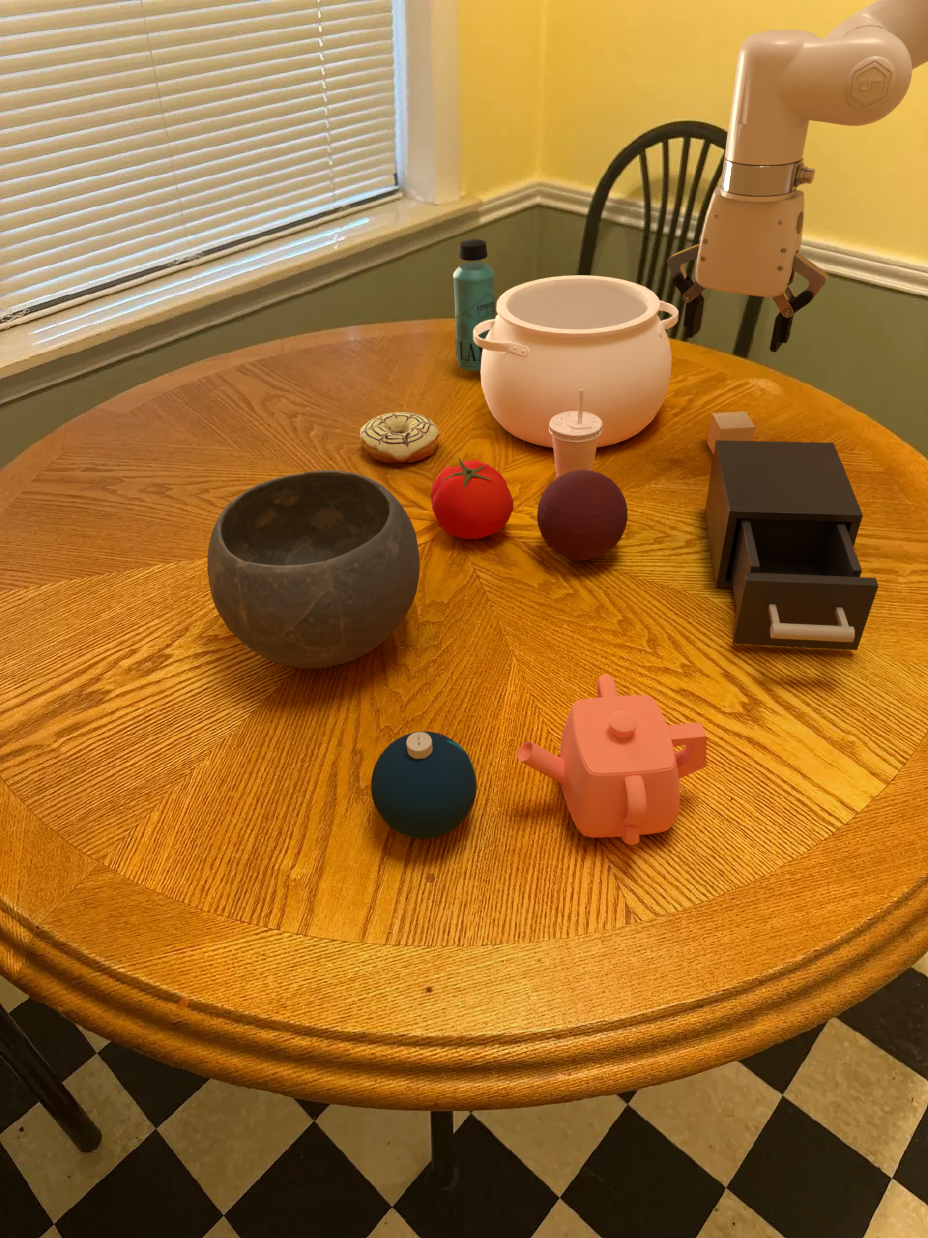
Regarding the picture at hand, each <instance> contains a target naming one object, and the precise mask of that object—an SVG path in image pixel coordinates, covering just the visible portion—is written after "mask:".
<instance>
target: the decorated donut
mask: <svg viewBox="0 0 928 1238" xmlns="http://www.w3.org/2000/svg"><path fill="white" fill-rule="evenodd" d="M440 435H441V433H440V430H439V429H438V426H437V424H435V422H434V421H432V420H431V418H428V417H426V416H424V415H422V414H419V413H415V412H410V411H396V412H395V411H394V412H387V413H383V414H380V415H378V416H375V417H373V418H372V419H370V420H369V421H367V422H366V423H365V424H364V425H362V426H361V428H360V429H359V442H360V444H361V445H362V448H363V449H364V450H365V451H366V453H367V454H368V455H369V456H370V457H371V458H373V459H375V460H376V461H380V462H382V463H391V464H395V463H398V464H399V463H401V464H403V463H407V464H412V463H414V462H418V461H420V460H423V459H425V458H427V457H431V456H432V455H433V454H435V451H436V449H437V447H438V444H439V437H440Z"/></svg>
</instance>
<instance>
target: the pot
mask: <svg viewBox="0 0 928 1238" xmlns="http://www.w3.org/2000/svg"><path fill="white" fill-rule="evenodd" d="M659 311H660V312H666V313H667V314H670V315H671V317H669V318H665V319H662V320H661V319H660V316H659ZM495 312H496V313H497V314H496V315H495V319H492V320H486V321H484V322H481V323H480V324H478V325H477V326H476V327H475V328H474V330H473V340H474V342H475V343H476V345H478V346H479V347H482V348H483V351H482V360H481V371H480V384H481V385H480V386H481V389H482V392H483V396H484V399H485V401H486V404H487V407H488V409H489V411H490V413H491V414H492V416H493V418H494V419H495V420H496V421H497V422H498V424H499V425H500V426H501V427H502V428H503V429H504V430H505V431H506V432H508V433H509V434H511V435H512V436H514V437H515V438H518V439H520V440H522V441H524V442H527V443H530V444H534V445H537V446H541V447H546V448H552V449H553V440H552V435H551V434H550V432H549V427H550V420H551V419H552V418H553V417H554V416H556V415H558V414H560V413H563V412H568V411H578V396H579V389H584V391H583V412H588V413H592V414H594V415H596V416H598V417H599V418H600V419H601V420H602V433H601V435H600V436H599V437H598V443H597V448H603V447H607V446H612V445H615V444H619V443H620V442H623V441H627V440H628V439H630V438H632V437H634V436H636V435H638V434H639V433H640V432H641V431H642V430H644V429H645V428H646V427H647V426H649V424H650V423H651V422H652V421H654V419H655V417H656V415H657V414H658V412H659V411H660V409H661V407H662V406H663V404H664V402H665V399H666V398H667V395H668V392H669V388H670V381H671V375H672V363H673V362H672V359H673V358H672V350H671V344H670V339H669V337H668V333H667V331H666V330H668V329H670V328H672V327H674V326H675V325H676V324H677V323H678V322H679V314H680V313H679V310H678V308H677V307H676V306H674V305H673V304H671V303H669V302H666V301H664V300H660V298H659V297H658V296H657V294H656V293H655V292H654V291H652V290H651V289H649V288H648V287H645V286H644V285H641V284H639V283H636V282H634V281H629V280H625V279H621V278H617V277H612V276H611V277H610V276H601V275H600V276H599V275H582V274H581V275H561V276H559V275H558V276H551V277H545V278H538V279H534V280H531V281H530V280H529V281H527V282H523V283H521V284H518V285H515V286H513V287H511V288H509V289H508V290H506V291H504V292H503V293H502V294H501V295H500V296H499V297H498V298H497V300H496V306H495ZM489 329H490V331H489V333H488V335H487V336H486V338H485V339H482V338H480V337H479V336H478V335H479V334H481V333H482V332H484V331H486V330H489Z"/></svg>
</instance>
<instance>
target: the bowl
mask: <svg viewBox="0 0 928 1238" xmlns="http://www.w3.org/2000/svg"><path fill="white" fill-rule="evenodd" d="M418 544H419V543H418V539H417V534H416V531H415V528H414V525H413V523H412V520H411V519H410V516H409V514H408V512H407V511H406V509H405V507H404V506H403V504H402V503H401V502H400V501H399V499H397V498H396V497H395V495H394V494H393V493H392V492H391V491H390V490H389V489H387V487H385V486H384V485H383V484H381V483H380V482H378V481H376V480H374V479H372V478H371V477H367V476H364V475H362V474H359V473H355V472H352V471H344V470H339V469H319V470H318V469H317V470H310V471H304V472H300V473H293V474H288V475H284V476H279V477H275V478H271V479H268V480H266V481H263V482H261V483H258V484H256V485H254V486H252V487H250V488H248V489H246V490H245V491H242V492H241V493H240V494H238V495H237V496H236V497H235V498H233V499H232V500H230V502H229V503H228V504H226V506H225V507H224V508H223V510H222V511H221V513H220V514H219V516H218V518H217V520H216V521H215V524H214V527H213V529H212V531H211V535H210V539H209V544H208V547H207V548H208V549H207V562H206V565H207V578H208V585H209V591H210V593H211V599H212V602H213V605H214V606H215V607H214V608H215V609H216V611H217V613H218V615H219V616H220V618H221V619H222V621H223V622H224V624H225V625H226V627H227V629H228V630H229V631H230V632H231V633H232V634H233V635H234V636H235V638H237V639H238V640H239V641H240V642H241V643H242V644H243V645H245V646H246V647H247V648H249V649H250V650H251V651H252V652H254V653H255V654H257V655H259V656H261V657H263V658H264V659H266V660H268V661H271V662H273V663H275V664H278V665H282V666H285V667H290V668H296V669H305V670H306V669H308V670H310V669H313V670H314V669H315V670H316V669H325V668H331V667H335V666H339V665H342V664H346V663H349V662H351V661H355V660H357V659H358V658H361V657H362V656H364V655H366V654H368V653H370V652H372V651H373V650H374V649H376V648H377V647H378V646H380V645H381V644H382V643H384V642H385V641H386V640H387V639H388V638H390V636H391V635H393V633H394V632H395V631H396V630H397V628H398V627H399V626H400V625H401V623H402V622H403V621H404V619H405V618H406V616H407V614H408V613H409V611H410V609H411V607H412V605H413V603H414V600H415V597H416V594H417V592H418V586H419V583H420V582H419V580H420V551H419V545H418Z"/></svg>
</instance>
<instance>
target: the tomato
mask: <svg viewBox="0 0 928 1238" xmlns="http://www.w3.org/2000/svg"><path fill="white" fill-rule="evenodd" d="M457 459H458V462H459V464H460V465H459V466H446V467H444V468H443V469H442V470H441V472H440V473H439V474H438V475H437V477H436V478H435V479H434V481H433V482H432V483H431V484H432V485H431V489H430V494H429V495H430V501H431V509H432V512H433V514H434V517H435V519H436V522H437V524H438V526H439V528H441V529H442V530H443V531H444V532H445V533H446V534H448V535H450V536H451V537H455V538H460V539H464V540H478V539H482V538H485V537H489V536H491V535H494V534H496V533H497V532H499V531H501V530H502V529H503V528H504V527H505V526H506V524H507V523H508V522H509V520H510V519H511V516H512V514H513V512H514V507H515V506H514V505H515V504H514V499H513V496H512V493H511V491H510V488H509V486H508V485H507V481H506V479H505V478H504V476H503V475H502V474H501V473H500V472H499V471H498V470H497V469H495V468H494V467H493V466H491V465H490V464H489V463H485V462H482V461H481V460H477V459H472V460H466V461H464V462H463V461H462V460H461V458H460V457H458V456H457Z"/></svg>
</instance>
